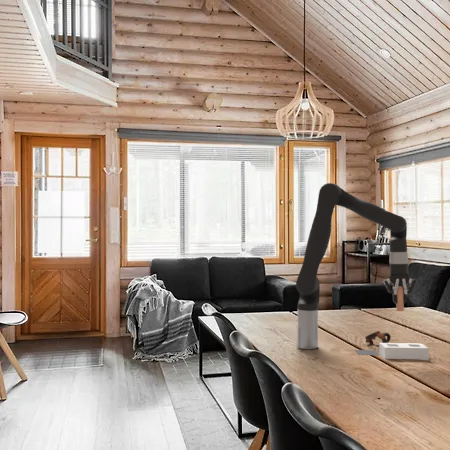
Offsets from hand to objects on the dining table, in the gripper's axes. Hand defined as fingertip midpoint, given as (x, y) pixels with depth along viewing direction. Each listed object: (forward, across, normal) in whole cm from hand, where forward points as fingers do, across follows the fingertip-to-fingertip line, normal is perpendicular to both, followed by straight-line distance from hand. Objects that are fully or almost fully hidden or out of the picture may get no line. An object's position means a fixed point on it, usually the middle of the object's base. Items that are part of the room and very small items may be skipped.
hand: (400, 303), depth 231 cm
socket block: (+23, 0, -1) cm, 23 cm away
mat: (+22, -14, +5) cm, 26 cm away
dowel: (+3, 0, 0) cm, 3 cm away
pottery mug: (+23, -5, +19) cm, 30 cm away
